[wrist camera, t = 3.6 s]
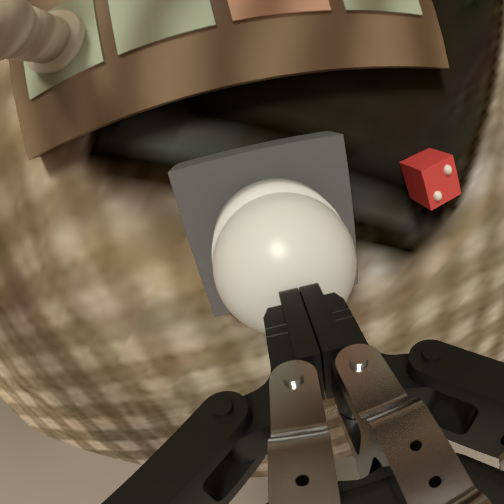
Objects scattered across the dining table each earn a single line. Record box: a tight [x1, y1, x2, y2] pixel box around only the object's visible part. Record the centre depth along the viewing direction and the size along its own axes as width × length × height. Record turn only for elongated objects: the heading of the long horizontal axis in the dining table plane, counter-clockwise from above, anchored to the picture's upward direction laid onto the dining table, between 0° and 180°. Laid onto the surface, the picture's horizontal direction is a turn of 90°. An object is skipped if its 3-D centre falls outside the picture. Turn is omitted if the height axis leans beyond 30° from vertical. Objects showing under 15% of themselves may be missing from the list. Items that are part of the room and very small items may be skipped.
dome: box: [212, 178, 357, 334], centre depth 15 cm, size 7×7×7 cm
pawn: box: [0, 0, 85, 73], centre depth 9 cm, size 4×4×8 cm
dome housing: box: [168, 131, 358, 317], centre depth 20 cm, size 10×10×3 cm
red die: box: [399, 148, 461, 210], centre depth 19 cm, size 3×3×3 cm
